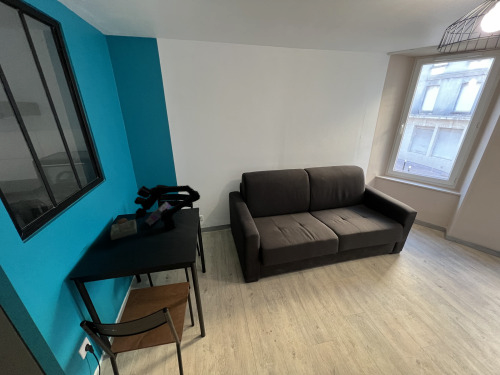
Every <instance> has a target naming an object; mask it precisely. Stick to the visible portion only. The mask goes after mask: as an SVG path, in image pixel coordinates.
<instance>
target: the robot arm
mask: <svg viewBox="0 0 500 375" xmlns="http://www.w3.org/2000/svg"><path fill="white" fill-rule="evenodd" d="M182 192H183V193H184V192H185V193H188V196H187V197H186V198H184V199H183V200H181V201H180V202H179V203H177V204H175V205H174V206H171V207H170V208H169V209H167V208H166V209H165V210H163V211H162V212H161V218H160V220H161V221H162V222H164V223H163V225H164V226H163V227H164V229H165V231H166V232H168V231H171V230H174V229H175V230H176V226H175V220H174V218H173V216H174V215H175V214H176V213H178V212H179V211H180V210H182V209H184V208H185V207H187V206H188V205H189V204H191V203H192V204H193V203H194V202H197V201H199V200H200V199H201V194H200V192H199V191H197V190H194V189H193V188H192V187H191V186H190V185H188V184H187V185H165V184H157V185H156V186H154V187H151V188H149V187H147V186H145V185H142V186H141V187H140V188H139V189H138V191H137V192H136V195H138V196H137V197H135V198H134V201H133V202H134V204H135V205H139V206H140V207H139V208H138V209H137V210H136V211H135V212H134V213H135V214H136V215H135V218H134V219H135V220H139V219H142V218H145V217H146V215H147V214H148V211H150V210H151V208H152V207H153V206H154V205H156V203H157V201H158V200H160V201H162V199H163V196H164V195H166V194H170V193H182Z"/></svg>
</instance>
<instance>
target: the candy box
mask: <svg viewBox="0 0 500 375" xmlns="http://www.w3.org/2000/svg"><path fill="white" fill-rule="evenodd" d="M166 208H167V209H171V208H172V205H171V204H170V203H169V202H167V201H165V202H164V203H163V204H162V205H160V206H159V207H158V208H156V210H154V211H153V212H152V213H151V214H150V215H149V216H148V217H147V218H146V219H145V223H147V224H148V225H149V226H152V225H154V223H155V222H157V221H158V220H159V219H161V212H162V211H163V210H165V209H166Z"/></svg>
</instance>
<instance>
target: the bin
mask: <svg viewBox="0 0 500 375" xmlns="http://www.w3.org/2000/svg"><path fill="white" fill-rule="evenodd" d="M127 221H128V224H129V228H130V230H127V231H123V232H120V231H119V228H118V225H117V223H115V224H112V225H111V231H110V238H111V241H115V240H118V239H121V238H124V237H129V236H132V235H136V234H138V232H137V221H136V219H135V218H134V219H131V220H127Z"/></svg>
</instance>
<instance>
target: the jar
mask: <svg viewBox="0 0 500 375" xmlns="http://www.w3.org/2000/svg"><path fill="white" fill-rule="evenodd" d="M128 221H129V220H128V219H127V218H126V217H125V218H120V219H117V221H116V224H117V225H118V228H119V231H120V232H123V231H127V230H130V228H129V224H128Z"/></svg>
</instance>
